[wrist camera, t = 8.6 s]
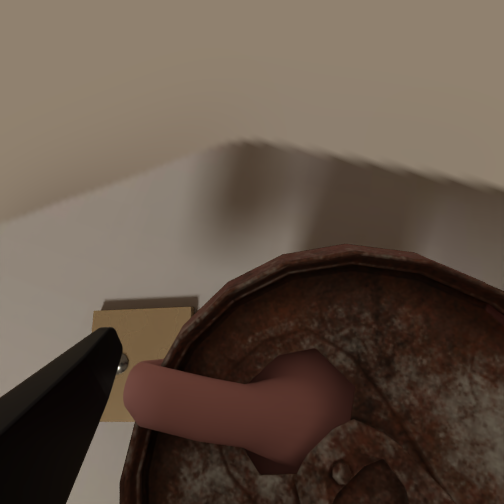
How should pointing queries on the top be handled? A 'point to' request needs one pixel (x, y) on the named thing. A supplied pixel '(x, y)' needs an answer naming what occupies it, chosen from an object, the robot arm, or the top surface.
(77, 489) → the top surface
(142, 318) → the flat squares and disc
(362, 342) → the can
